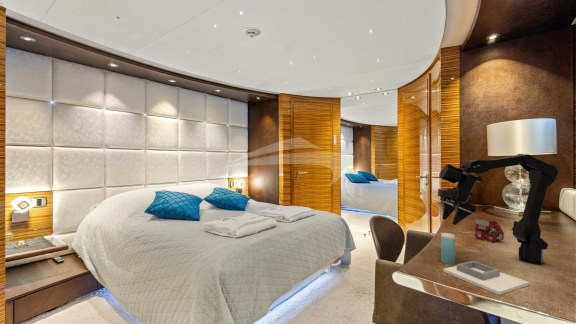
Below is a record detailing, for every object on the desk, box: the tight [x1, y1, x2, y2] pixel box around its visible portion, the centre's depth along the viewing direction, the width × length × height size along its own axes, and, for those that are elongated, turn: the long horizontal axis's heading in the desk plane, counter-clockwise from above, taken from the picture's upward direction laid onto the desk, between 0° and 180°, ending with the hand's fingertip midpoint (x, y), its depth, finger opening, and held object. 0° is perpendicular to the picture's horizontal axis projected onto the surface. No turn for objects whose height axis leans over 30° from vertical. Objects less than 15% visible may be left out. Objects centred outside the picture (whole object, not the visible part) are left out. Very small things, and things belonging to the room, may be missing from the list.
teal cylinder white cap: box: [440, 232, 456, 265], centre depth 105 cm, size 5×5×11 cm
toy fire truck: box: [474, 217, 505, 243], centre depth 133 cm, size 7×12×10 cm, turn 30°
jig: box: [443, 260, 530, 296], centre depth 90 cm, size 16×18×3 cm
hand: (448, 221), depth 110 cm, fingers open, 9 cm apart
